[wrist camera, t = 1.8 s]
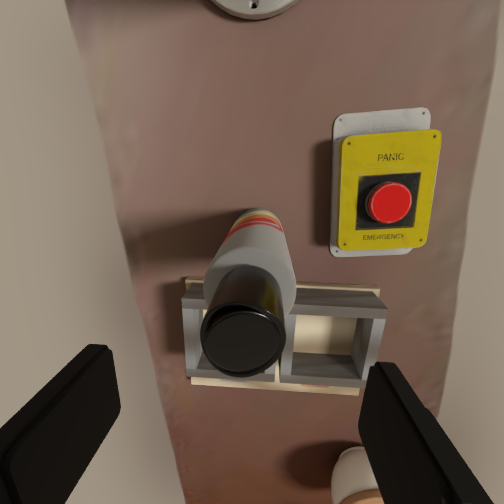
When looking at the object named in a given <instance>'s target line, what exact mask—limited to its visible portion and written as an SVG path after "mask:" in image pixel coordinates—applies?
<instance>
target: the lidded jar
mask: <svg viewBox="0 0 504 504" xmlns="http://www.w3.org/2000/svg"><path fill="white" fill-rule="evenodd" d="M331 493H332V503H333V504H384V502H383V499H382V496H381V494H380V491H379V488H378V485H377V482H376V479H375V477H374V474H373V471H372V468H371V465H370V463H369V460H368V457H367V454H366V451H365V448H364V447H363V446H356V447H351V448H348V449H346V450H345V451H343V452H342V453H341V454H340V456H339V459H338V461H337V463H336V464H335V466H334V469H333V472H332V479H331Z"/></svg>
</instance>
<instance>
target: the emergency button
mask: <svg viewBox="0 0 504 504" xmlns="http://www.w3.org/2000/svg"><path fill="white" fill-rule="evenodd" d="M430 121H431V117H430V112H429V111H428V109H426V108H423V107H420V108H408V109H396V110H384V111H372V112H360V113H348V114H342V115H340V116H338V118H337V119H336V120H335V122H334V127H333V156H332V190H331V224H330V251H331V253H332V254H333V255H334V256H336V257H353V256H376V255H399V254H406V253H409V252H410V251H411V250H412V248H418V247H421V246H422V245H424V244H425V242H426V240H427V235H428V228H429V221H430V215H431V208H432V201H433V194H434V188H435V181H436V174H437V168H438V161H439V154H440V148H441V141H442V136H441V133H440V132H439V131H438V130H434V129H429V128H430Z"/></svg>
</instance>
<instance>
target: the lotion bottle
mask: <svg viewBox="0 0 504 504" xmlns="http://www.w3.org/2000/svg"><path fill="white" fill-rule="evenodd" d="M203 292H204V298H205V301H206V304H207V306H208V309H207V312H206V314H205V316H204V318H203V321H202V324H201V328H200V342H201V346H202V350H203V352H204V354H205V356H206V358H207V359H208V361H209V362H210V363H211V365H212V366H213V367H214V368H216V369H217V370H218V371H220V372H221V373H223V374H225V375H228V376H231V377H237V378H245V377H251V376H254V375H257V374H259V373H262V372H263V371H265V370H267V369H268V368H269V367H271V366H272V365H273V364H274V363H275V362H276V361H277V360H278V358H279V357H280V356H281V354H282V352H283V350H284V347H285V344H286V327H285V319H284V318H285V317H286V316H287V315H288V314H289V312H290V311H291V309H292V307H293V305H294V302H295V298H296V280H295V275H294V271H293V267H292V263H291V259H290V255H289V251H288V247H287V243H286V240H285V236H284V232H283V228H282V225H281V223H280V221H279V219H278V218H277V217H276V216H275V215H274V214H273V213H272V212H270V211H268V210H265V209H261V208H255V209H250V210H248V211H246V212H244V213H243V214H241V215H240V216H239V217H238V218H237V220H236V221H235V223H234V225H233V226H232V228H231V230H230V231H229V233H228V235H227V236H226V238H225V240H224V241H223V243H222V245H221V246H220V248H219V250H218V251H217V253H216V255H215V257H214V258H213V260H212V262H211V263H210V265H209V267H208V269H207V272H206V274H205V278H204V284H203Z"/></svg>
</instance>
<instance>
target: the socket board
mask: <svg viewBox="0 0 504 504" xmlns="http://www.w3.org/2000/svg"><path fill="white" fill-rule="evenodd" d="M204 278H205V277H190V276H188V277H187V278H186V280H185V283H186V292H185V294H184V295H183V297H182V298H181V299H182V314H183V329H184V344H185V359H186V374H187V377H191V383H192V384H195V385H210V386H225V387H240V388H255V389H270V390H285V391H299V392H314V393H329V394H344V395H359V390H360V388H365V387H366V382H367V377H368V372H369V368H370V366H374V364H375V363H376V361H377V357H378V352H379V348H380V343H381V339H382V334H383V330H384V325H385V321H386V316H387V312H388V309H387V307H386V306H385V305H384V304H383V303H382V302H381V300H380V299H379V298H378V297H379V292H380V289H379V288H378V286H375V285H355V284H334V283H313V282H296V298H295V302H294V305H293V307H292V309H291V311H290V312H289V314H288V315H287V316H286V317H285V318H284V319H285V327H286V344H285V347H284V350H283V352H282V354H281V356H280V357H279V358H278V360H277V361H276V362H275V363H274V364H273V365H272V366H271V367H269V368H268V369H267V370H265V371H263V372H262V373H259V374H257V375H254V376H251V377H245V378H237V377H231V376H228V375H225V374H223V373H221V372H220V371H218V370H217V369H216V368H214V367H213V366H212V365H211V363H210V362H209V361H208V359H207V358H206V356H205V354H204V352H203V350H202V346H201V342H200V328H201V324H202V321H203V318H204V316H205V314H206V312H207V309H208V306H207V304H206V301H205V298H204V292H203V284H204Z"/></svg>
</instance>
